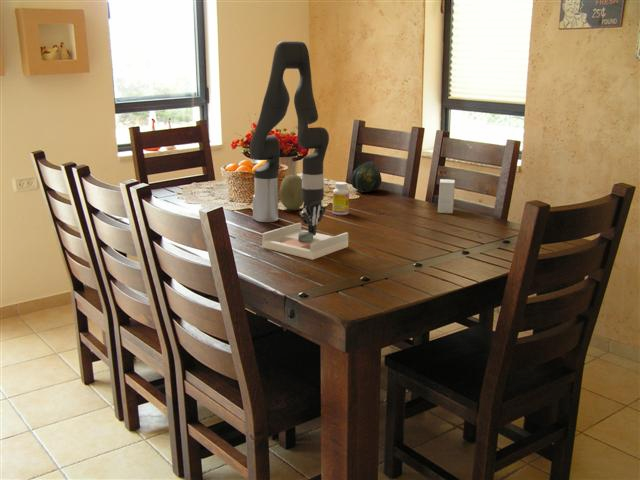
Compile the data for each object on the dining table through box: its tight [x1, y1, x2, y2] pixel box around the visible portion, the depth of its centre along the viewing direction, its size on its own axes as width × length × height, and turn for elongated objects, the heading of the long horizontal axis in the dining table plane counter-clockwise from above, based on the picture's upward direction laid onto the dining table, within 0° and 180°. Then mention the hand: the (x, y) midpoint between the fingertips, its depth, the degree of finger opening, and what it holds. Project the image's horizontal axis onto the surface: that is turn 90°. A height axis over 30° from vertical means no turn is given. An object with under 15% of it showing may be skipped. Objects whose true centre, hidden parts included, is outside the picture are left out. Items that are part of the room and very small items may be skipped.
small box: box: [437, 178, 456, 214], centre depth 301 cm, size 8×6×13 cm
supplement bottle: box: [332, 181, 350, 216], centre depth 294 cm, size 7×7×13 cm
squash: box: [350, 160, 383, 193], centre depth 339 cm, size 14×15×15 cm
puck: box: [298, 232, 313, 243], centre depth 245 cm, size 5×5×2 cm
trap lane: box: [261, 222, 349, 260], centre depth 246 cm, size 22×20×5 cm
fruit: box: [279, 174, 304, 210], centre depth 300 cm, size 11×11×15 cm
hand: (312, 235), depth 249 cm, fingers closed
